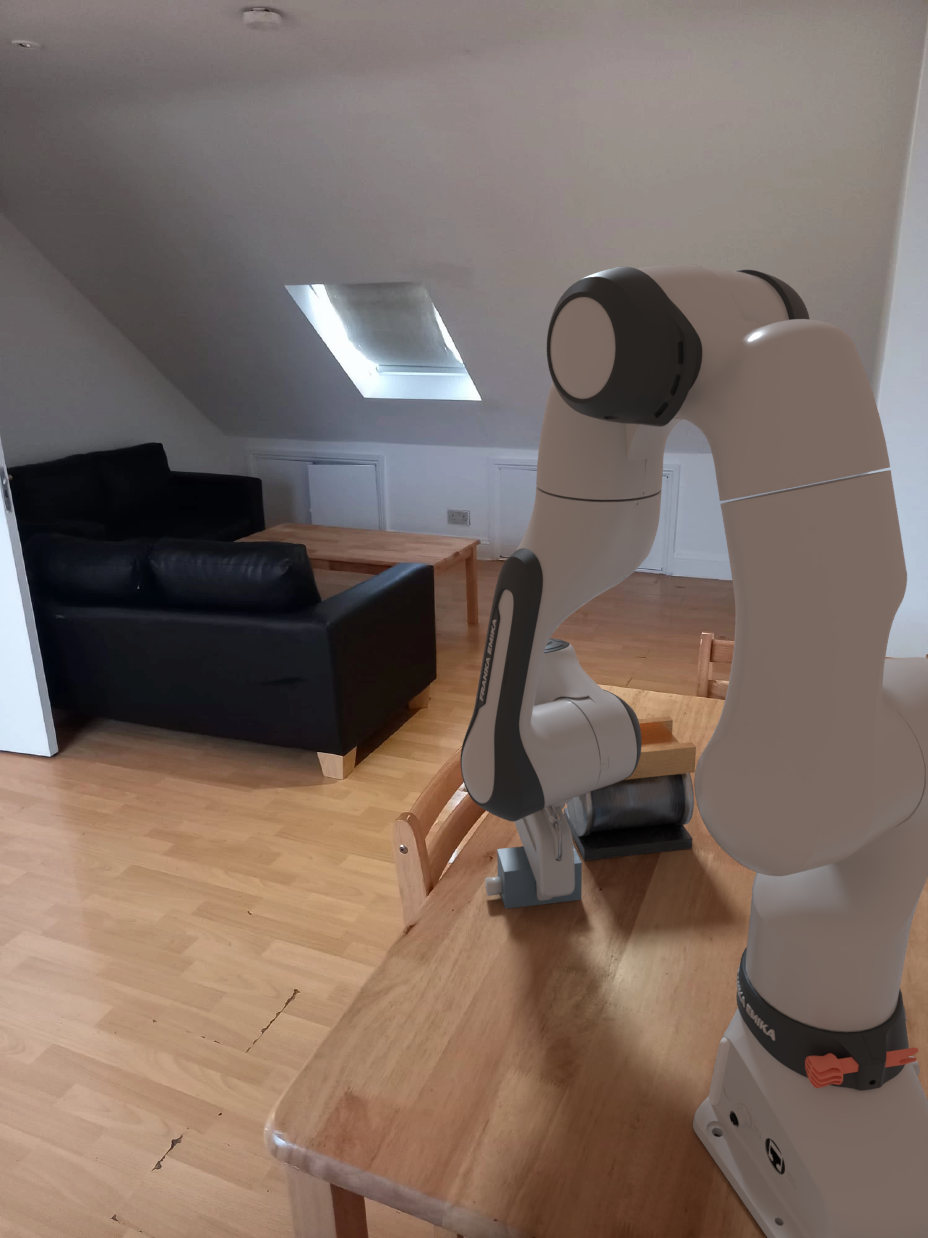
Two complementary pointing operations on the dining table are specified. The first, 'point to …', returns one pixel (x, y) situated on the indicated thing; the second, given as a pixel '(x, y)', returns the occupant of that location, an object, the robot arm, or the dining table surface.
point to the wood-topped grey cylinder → (640, 801)
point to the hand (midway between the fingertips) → (537, 880)
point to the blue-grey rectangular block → (524, 880)
